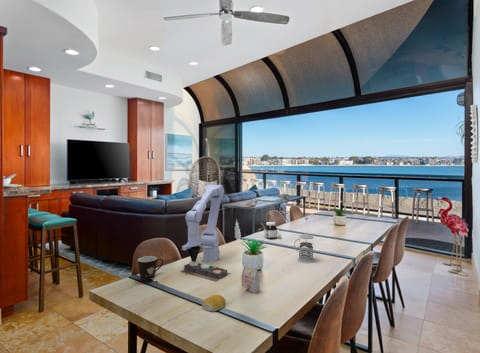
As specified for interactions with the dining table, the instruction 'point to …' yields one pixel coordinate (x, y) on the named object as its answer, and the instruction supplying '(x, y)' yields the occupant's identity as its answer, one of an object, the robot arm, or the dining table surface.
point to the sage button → (205, 266)
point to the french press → (305, 249)
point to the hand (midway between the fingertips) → (193, 261)
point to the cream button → (193, 264)
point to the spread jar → (271, 231)
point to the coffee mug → (147, 268)
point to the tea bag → (250, 279)
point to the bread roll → (214, 303)
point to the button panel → (205, 272)
